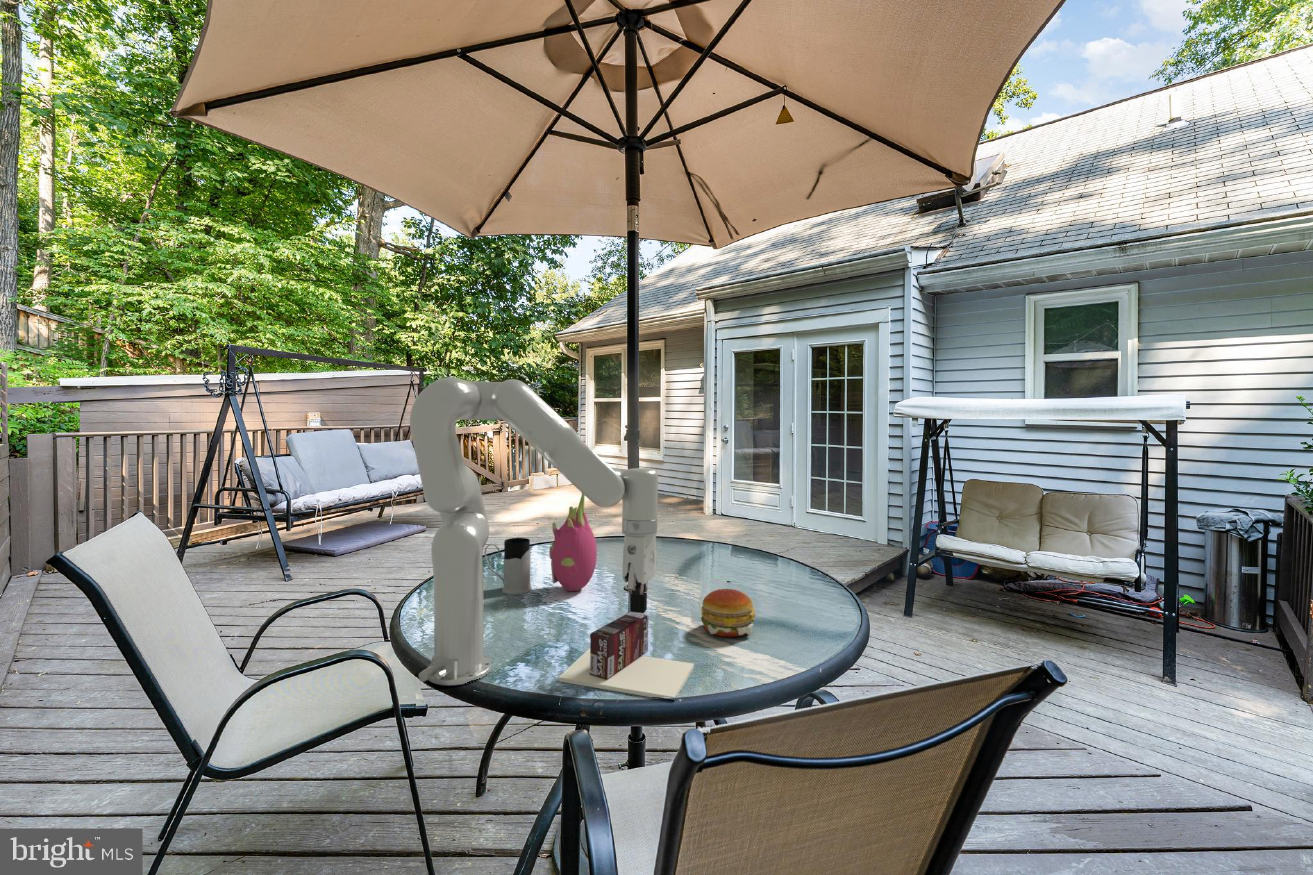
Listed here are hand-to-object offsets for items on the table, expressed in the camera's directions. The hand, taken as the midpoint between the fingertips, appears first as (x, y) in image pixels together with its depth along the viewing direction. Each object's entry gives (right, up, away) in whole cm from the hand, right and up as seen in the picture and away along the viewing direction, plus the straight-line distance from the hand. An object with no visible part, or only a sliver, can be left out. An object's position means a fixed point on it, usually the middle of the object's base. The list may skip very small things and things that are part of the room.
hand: (638, 611), depth 121 cm
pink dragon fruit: (-21, -9, +49) cm, 55 cm away
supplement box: (0, -6, +5) cm, 7 cm away
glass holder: (-41, -9, +49) cm, 65 cm away
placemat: (-2, -11, -5) cm, 13 cm away
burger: (+22, -11, +19) cm, 31 cm away
